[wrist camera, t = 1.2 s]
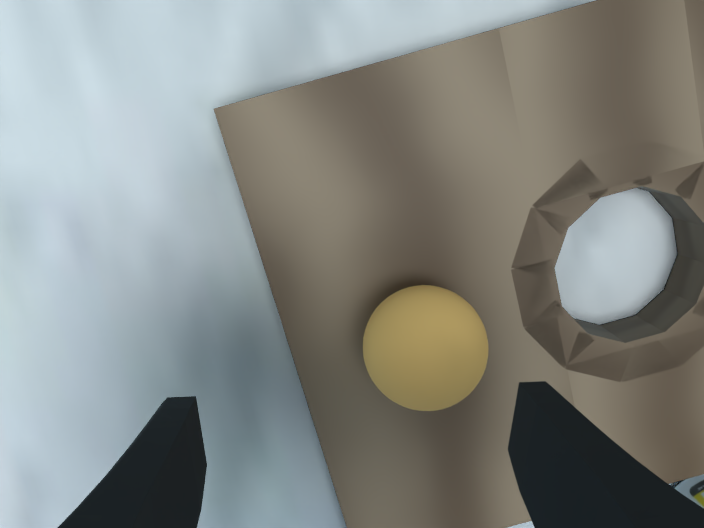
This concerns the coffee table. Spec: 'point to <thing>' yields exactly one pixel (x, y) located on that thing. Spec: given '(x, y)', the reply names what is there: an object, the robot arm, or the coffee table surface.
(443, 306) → the ball
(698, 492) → the supplement bottle
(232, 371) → the coffee table surface
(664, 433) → the wooden board with hole
